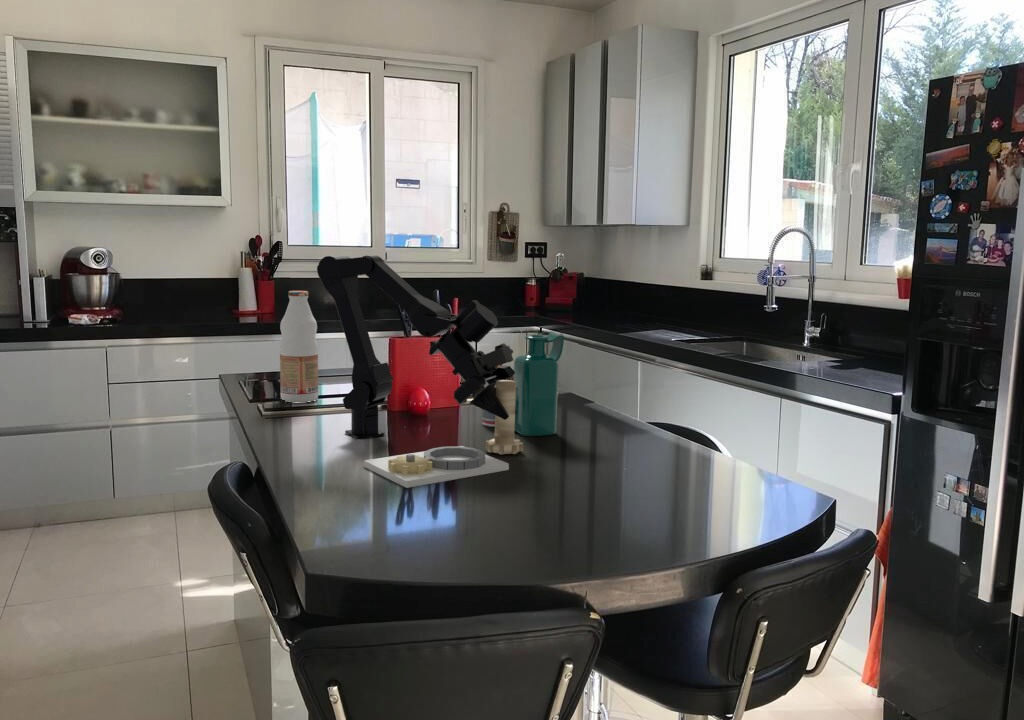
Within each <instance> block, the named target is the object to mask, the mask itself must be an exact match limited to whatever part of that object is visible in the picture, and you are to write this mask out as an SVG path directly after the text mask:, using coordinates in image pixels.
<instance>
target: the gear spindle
mask: <svg viewBox="0 0 1024 720" xmlns="http://www.w3.org/2000/svg"><path fill="white" fill-rule="evenodd" d="M496 396H497V398H498V399H499V401H500V402H501V404H502V405H503V407H504V408H505V410H506V412H507V413H508V415H509V417H508V418H507V419H506V420H504V419H502V418H500V417H498V416H496V415H495V427H494V437H493V438H491V439H489V440H486V441H485V450H487V452H488V453H494V454H498V455H506V454H507V455H511V454H512V455H515V454H518V453H519V452H524V451H523V449H524V443H523V442H521V440H520V439H515V432H516V431H515V401H516V381H512V380H498V381H496Z"/></svg>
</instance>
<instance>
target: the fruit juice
mask: <svg viewBox="0 0 1024 720" xmlns="http://www.w3.org/2000/svg"><path fill="white" fill-rule="evenodd" d="M287 294H288V298H289V302H288V305H287V308H286V310H285V313H284V315H283V317H282V319H281V321H280V324H279V326H280V327H279V328H280V332H281V333H280V334H281V337H282V338H281V341H280V344H279V364H280V365H279V373H280V378H279V379H280V381H279V383H280V384H279V385H280V400H281V399H282V400H285V401H290V402H308V401H314V400H316V401H318V398H319V348H318V346H319V345H318V342H317V340H316V334H317V331H318V323H317V320H316V319H315V317H314V315H313V312H312V309H311V306H310V305H309V302H308V298H309V291H308V290H289V291H288V292H287ZM282 400H281V401H282ZM314 402H315V401H314Z"/></svg>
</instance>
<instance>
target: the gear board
mask: <svg viewBox="0 0 1024 720" xmlns="http://www.w3.org/2000/svg"><path fill="white" fill-rule="evenodd" d="M363 467H364V468H365V469H368V470H370V471H372V472H374V473H376V474H378V475H380V476H382V477H384V478H386V479H387V480H389V481H392V482H394V483H396V484H398V485H400V486H402V487H404V488H406V489H409V488H414V487H419V486H426V485H430V484H437V483H444V482H448V481H453V480H459V479H464V478H465V479H466V478H469V477H471V478H472V477H477V476H482V475H487V474H493V473H499V472H504V471H509V470H510V464H509V463H508V462H506V461H503V460H501V459H497V458H495V457H492V456H490V455H487V454H485V451H484V450H480V449H478V448H474V447H469V446H468V447H467V446H463V445H459V446H458V445H457V446H439V447H433V448H430V449H427V450H424V451H417V452H412V453H404V454H398V455H391V456H385V457H379V458H371V459H366V460H363Z"/></svg>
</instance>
